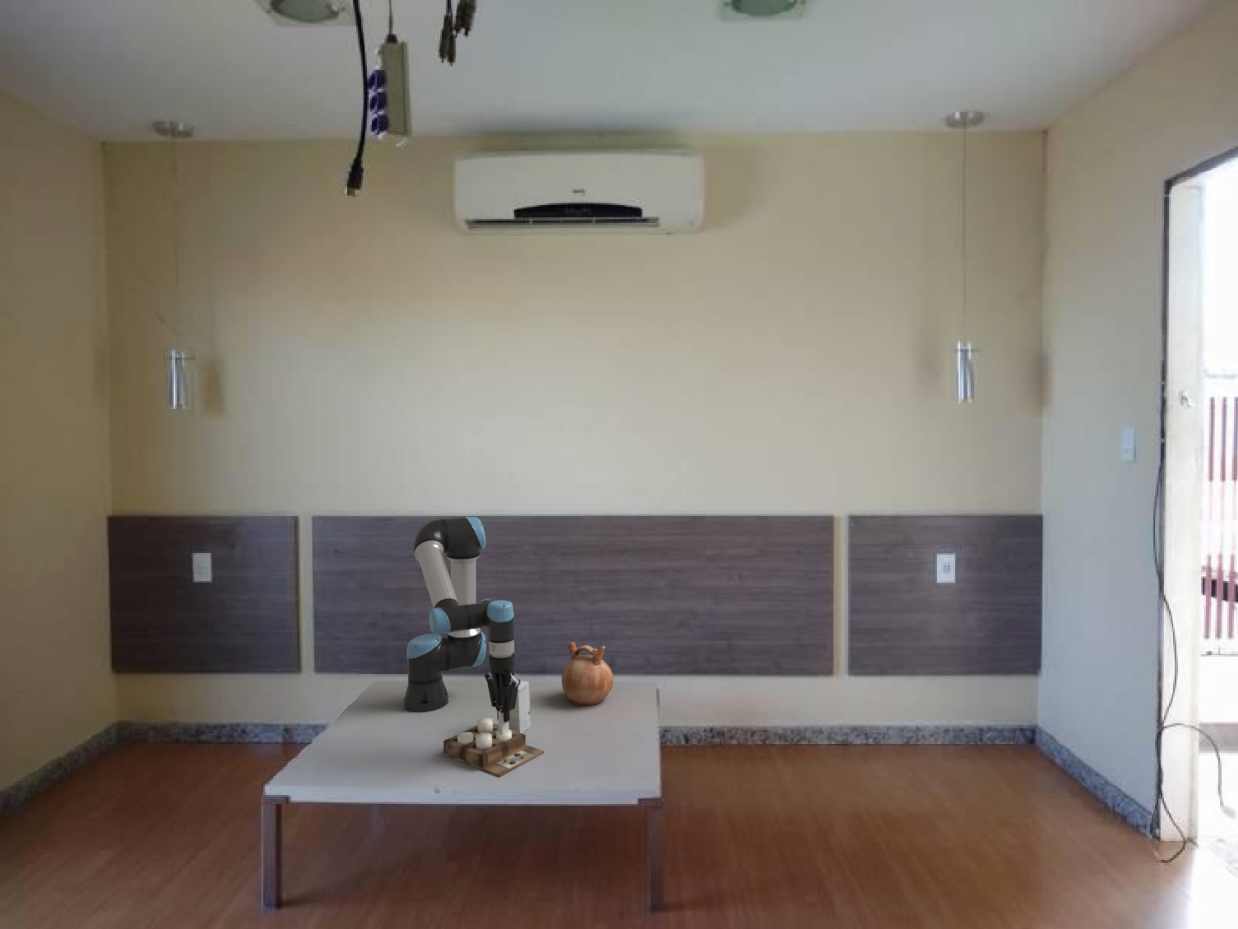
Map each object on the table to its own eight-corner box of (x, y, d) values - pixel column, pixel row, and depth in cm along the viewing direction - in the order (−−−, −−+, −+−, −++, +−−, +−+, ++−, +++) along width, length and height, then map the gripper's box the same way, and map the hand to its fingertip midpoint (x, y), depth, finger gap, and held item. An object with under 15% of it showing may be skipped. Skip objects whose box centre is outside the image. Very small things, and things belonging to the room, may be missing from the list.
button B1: (472, 750, 219) (472, 736, 218) (484, 744, 222) (484, 731, 222) (483, 754, 216) (483, 740, 216) (495, 748, 220) (495, 735, 219)
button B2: (493, 746, 225) (492, 733, 225) (504, 740, 229) (504, 727, 229) (504, 750, 222) (503, 736, 222) (515, 744, 226) (514, 731, 226)
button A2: (474, 733, 230) (474, 721, 230) (485, 728, 233) (485, 716, 233) (485, 737, 227) (484, 724, 227) (496, 732, 231) (495, 719, 230)
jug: (624, 695, 267) (623, 640, 266) (595, 713, 252) (594, 654, 250) (581, 686, 277) (580, 632, 275) (551, 702, 262) (549, 646, 260)
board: (442, 754, 223) (442, 741, 223) (487, 733, 237) (487, 721, 237) (499, 777, 208) (499, 762, 208) (544, 753, 223) (543, 739, 222)
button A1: (454, 749, 224) (454, 736, 223) (466, 743, 227) (465, 730, 227) (465, 753, 221) (464, 740, 221) (476, 747, 224) (476, 734, 224)
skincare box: (520, 736, 234) (518, 690, 233) (502, 734, 236) (501, 688, 235) (531, 726, 242) (530, 680, 241) (514, 724, 244) (512, 679, 243)
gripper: (477, 653, 225) (479, 730, 226) (508, 661, 217) (510, 741, 218) (495, 646, 231) (497, 722, 232) (526, 654, 223) (528, 732, 224)
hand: (503, 731), depth 225 cm, fingers closed
